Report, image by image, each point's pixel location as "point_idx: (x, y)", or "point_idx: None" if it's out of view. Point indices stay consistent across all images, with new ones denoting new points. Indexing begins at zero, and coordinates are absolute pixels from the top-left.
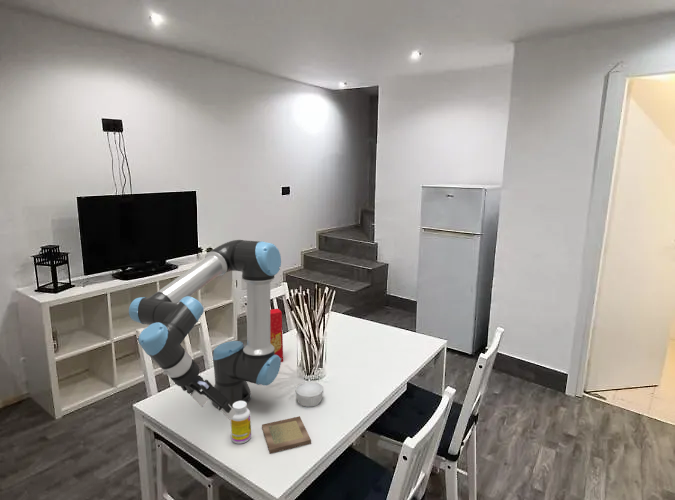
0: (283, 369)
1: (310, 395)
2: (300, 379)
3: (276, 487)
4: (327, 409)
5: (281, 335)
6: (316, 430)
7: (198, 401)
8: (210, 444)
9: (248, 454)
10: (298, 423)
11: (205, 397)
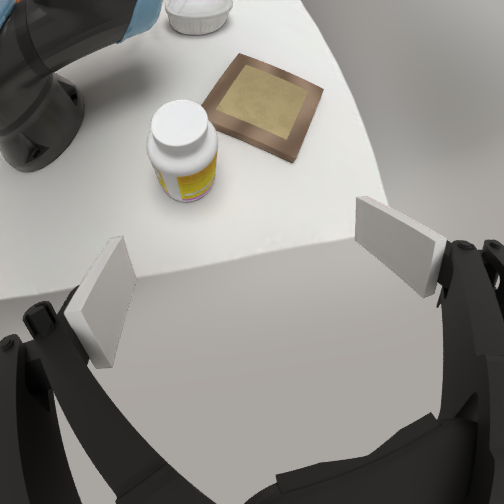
0: None
1: (222, 9)
2: None
3: None
4: (250, 22)
5: None
6: (292, 64)
7: (126, 305)
8: (147, 253)
9: (258, 199)
10: (259, 67)
11: (116, 249)
